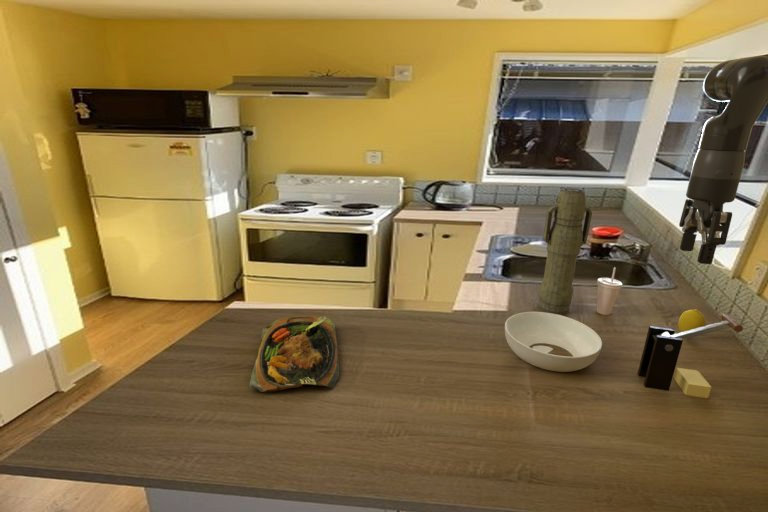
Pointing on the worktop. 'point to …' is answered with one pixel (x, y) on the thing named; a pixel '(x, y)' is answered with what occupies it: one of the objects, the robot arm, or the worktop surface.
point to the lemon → (691, 320)
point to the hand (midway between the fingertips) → (694, 256)
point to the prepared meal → (296, 354)
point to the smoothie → (607, 294)
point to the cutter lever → (707, 328)
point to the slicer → (659, 358)
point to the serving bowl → (552, 340)
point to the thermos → (563, 249)
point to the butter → (692, 382)
